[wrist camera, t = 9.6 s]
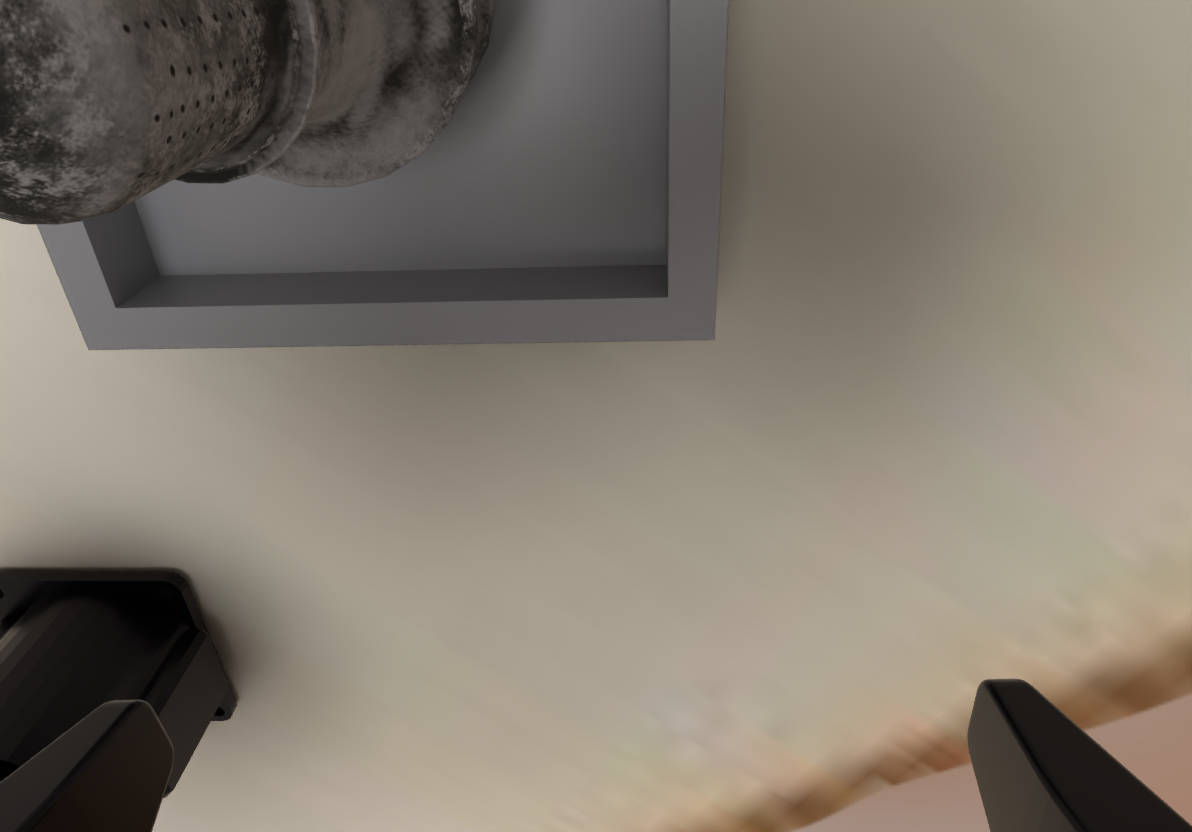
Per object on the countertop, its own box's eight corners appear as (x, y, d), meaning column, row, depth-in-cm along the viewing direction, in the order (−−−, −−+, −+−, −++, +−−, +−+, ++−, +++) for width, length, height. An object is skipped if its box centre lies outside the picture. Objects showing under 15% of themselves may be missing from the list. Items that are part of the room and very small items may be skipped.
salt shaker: (521, -175, 14) (192, -437, 4) (500, 160, 17) (284, 502, 7) (189, -227, 14) (-1042, -634, 4) (227, 120, 17) (-397, 410, 7)
